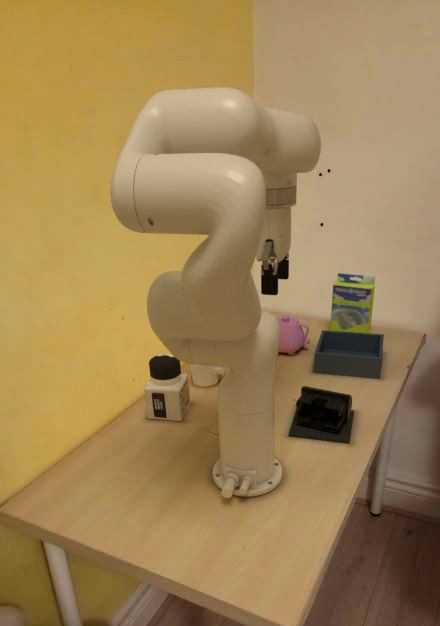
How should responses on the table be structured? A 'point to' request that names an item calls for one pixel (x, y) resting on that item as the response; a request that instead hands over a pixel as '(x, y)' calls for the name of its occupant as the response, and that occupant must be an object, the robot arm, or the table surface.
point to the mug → (206, 374)
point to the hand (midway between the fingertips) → (275, 286)
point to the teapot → (291, 334)
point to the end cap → (323, 409)
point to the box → (352, 303)
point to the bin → (349, 354)
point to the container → (167, 389)
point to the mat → (321, 435)
